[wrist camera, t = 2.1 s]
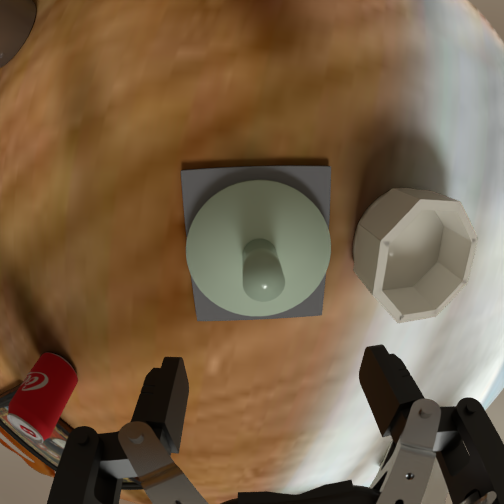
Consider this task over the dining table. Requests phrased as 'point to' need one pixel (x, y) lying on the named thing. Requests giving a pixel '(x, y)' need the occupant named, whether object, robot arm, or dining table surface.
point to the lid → (258, 248)
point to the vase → (435, 487)
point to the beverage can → (42, 397)
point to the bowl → (414, 252)
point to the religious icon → (48, 441)
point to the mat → (215, 179)
